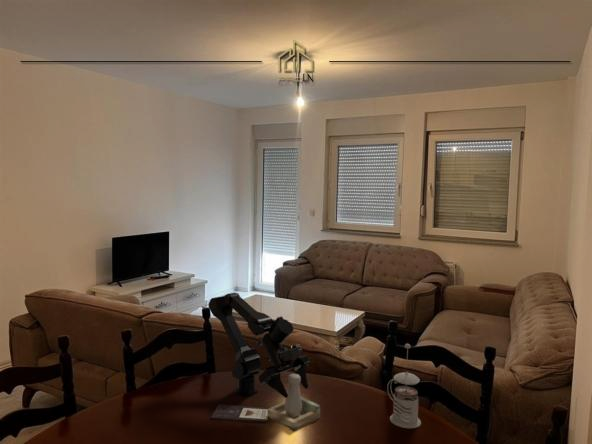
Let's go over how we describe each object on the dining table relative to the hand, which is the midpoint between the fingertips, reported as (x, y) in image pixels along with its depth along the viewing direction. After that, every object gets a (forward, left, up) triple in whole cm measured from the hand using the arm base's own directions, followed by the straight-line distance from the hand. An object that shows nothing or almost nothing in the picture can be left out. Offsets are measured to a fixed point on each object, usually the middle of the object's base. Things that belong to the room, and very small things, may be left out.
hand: (297, 392), depth 137 cm
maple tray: (-1, 0, -9) cm, 9 cm away
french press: (+24, +25, -9) cm, 35 cm away
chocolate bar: (-15, -11, -9) cm, 20 cm away
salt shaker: (-2, 0, -8) cm, 8 cm away
